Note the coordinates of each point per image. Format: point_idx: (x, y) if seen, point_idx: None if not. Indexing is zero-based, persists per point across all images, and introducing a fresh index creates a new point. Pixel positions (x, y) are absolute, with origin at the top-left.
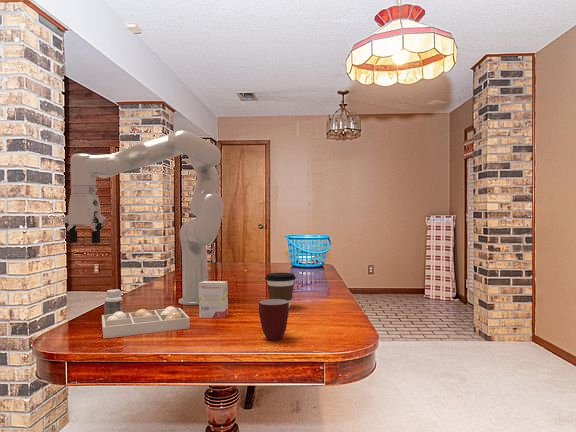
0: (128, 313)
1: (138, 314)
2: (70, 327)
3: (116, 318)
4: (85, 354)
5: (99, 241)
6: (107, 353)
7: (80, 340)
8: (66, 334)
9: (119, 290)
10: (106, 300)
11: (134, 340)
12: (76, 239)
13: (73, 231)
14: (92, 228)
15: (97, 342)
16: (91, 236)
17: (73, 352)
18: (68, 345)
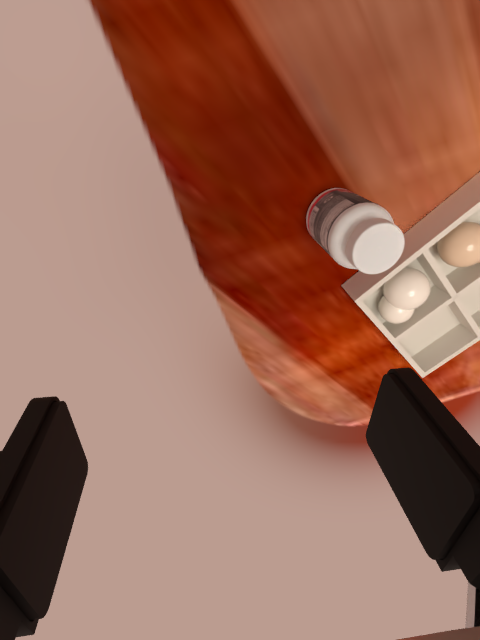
0: (422, 253)
1: (466, 266)
2: (258, 314)
3: (413, 311)
4: None
5: (412, 381)
6: (448, 399)
7: (358, 372)
8: (297, 356)
9: (404, 240)
10: (350, 268)
11: None
12: (54, 434)
13: (24, 592)
14: (477, 612)
15: None
16: (398, 500)
17: None
18: (355, 397)
